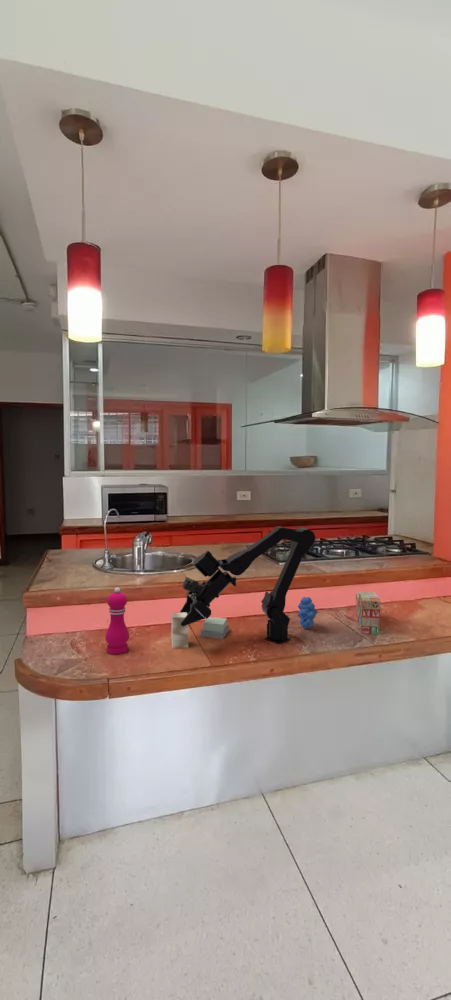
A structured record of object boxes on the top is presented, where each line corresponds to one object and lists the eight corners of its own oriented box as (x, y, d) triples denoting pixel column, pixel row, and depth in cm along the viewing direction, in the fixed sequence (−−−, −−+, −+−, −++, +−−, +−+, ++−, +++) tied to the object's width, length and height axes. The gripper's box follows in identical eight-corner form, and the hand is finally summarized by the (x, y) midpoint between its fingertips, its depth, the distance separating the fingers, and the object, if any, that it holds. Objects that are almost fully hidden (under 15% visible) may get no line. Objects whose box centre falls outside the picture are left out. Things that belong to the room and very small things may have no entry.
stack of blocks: (355, 616, 185) (356, 585, 185) (371, 617, 184) (372, 586, 184) (361, 634, 164) (362, 599, 164) (379, 635, 163) (380, 600, 163)
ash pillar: (186, 642, 154) (186, 612, 154) (188, 647, 149) (188, 616, 149) (171, 643, 153) (171, 613, 153) (172, 648, 149) (172, 617, 148)
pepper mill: (109, 646, 150) (108, 584, 149) (131, 646, 150) (131, 585, 149) (102, 654, 143) (102, 590, 142) (125, 655, 142) (125, 590, 141)
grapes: (324, 633, 164) (325, 599, 164) (306, 634, 163) (307, 600, 162) (310, 623, 176) (310, 591, 175) (293, 624, 174) (294, 592, 173)
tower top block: (226, 625, 166) (226, 618, 166) (223, 631, 159) (223, 624, 159) (207, 623, 167) (207, 617, 167) (203, 630, 160) (203, 623, 160)
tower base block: (228, 632, 166) (228, 625, 166) (223, 640, 158) (223, 632, 158) (207, 630, 168) (207, 623, 168) (200, 637, 160) (200, 630, 160)
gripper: (193, 563, 160) (161, 596, 159) (201, 575, 142) (164, 612, 141) (216, 586, 162) (183, 618, 161) (226, 600, 144) (190, 637, 142)
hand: (180, 620), depth 151 cm, fingers open, 9 cm apart
